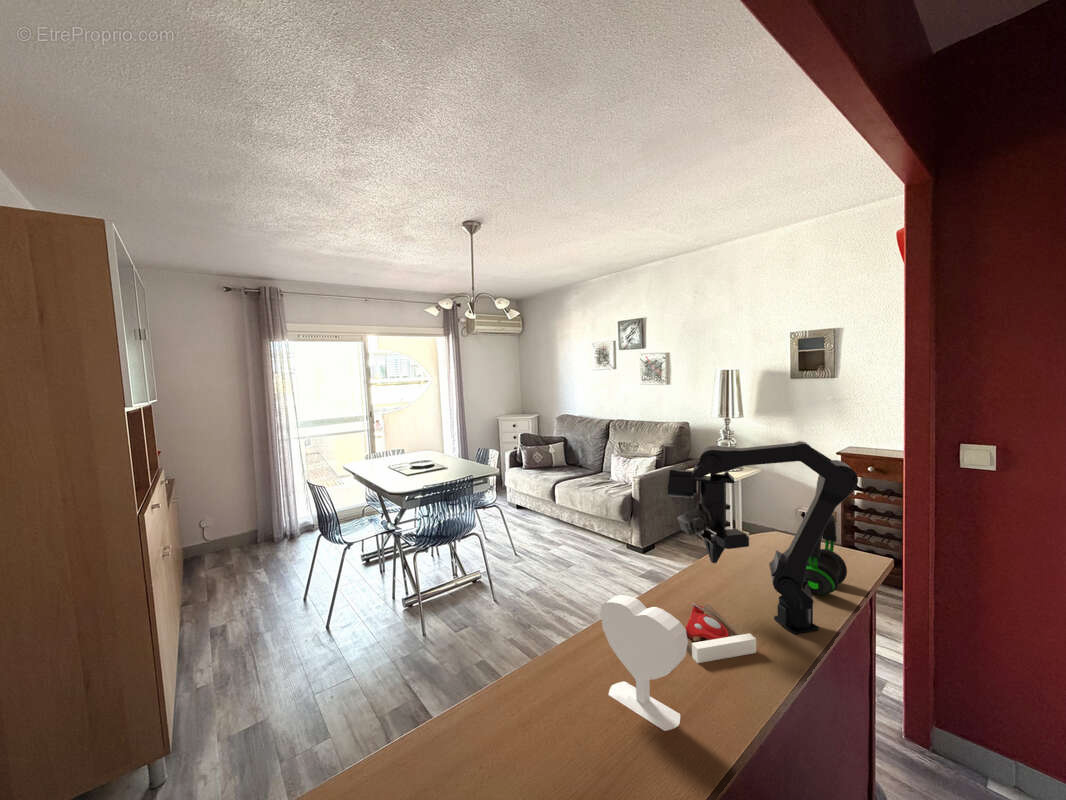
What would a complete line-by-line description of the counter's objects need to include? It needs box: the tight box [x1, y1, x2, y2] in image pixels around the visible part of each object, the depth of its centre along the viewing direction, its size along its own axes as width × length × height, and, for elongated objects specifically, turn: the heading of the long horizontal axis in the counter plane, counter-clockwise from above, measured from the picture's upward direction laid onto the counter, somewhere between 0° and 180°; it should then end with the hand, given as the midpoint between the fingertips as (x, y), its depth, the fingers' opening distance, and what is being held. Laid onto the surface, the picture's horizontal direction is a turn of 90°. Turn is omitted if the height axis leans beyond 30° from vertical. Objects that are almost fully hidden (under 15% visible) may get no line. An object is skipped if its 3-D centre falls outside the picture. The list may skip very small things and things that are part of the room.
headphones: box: [804, 514, 848, 596], centre depth 116 cm, size 9×16×20 cm, turn 131°
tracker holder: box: [684, 602, 730, 640], centre depth 101 cm, size 12×4×10 cm
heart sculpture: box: [600, 594, 689, 732], centre depth 78 cm, size 16×5×18 cm, turn 43°
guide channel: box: [686, 603, 757, 664], centre depth 99 cm, size 13×17×3 cm
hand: (713, 562), depth 107 cm, fingers closed
